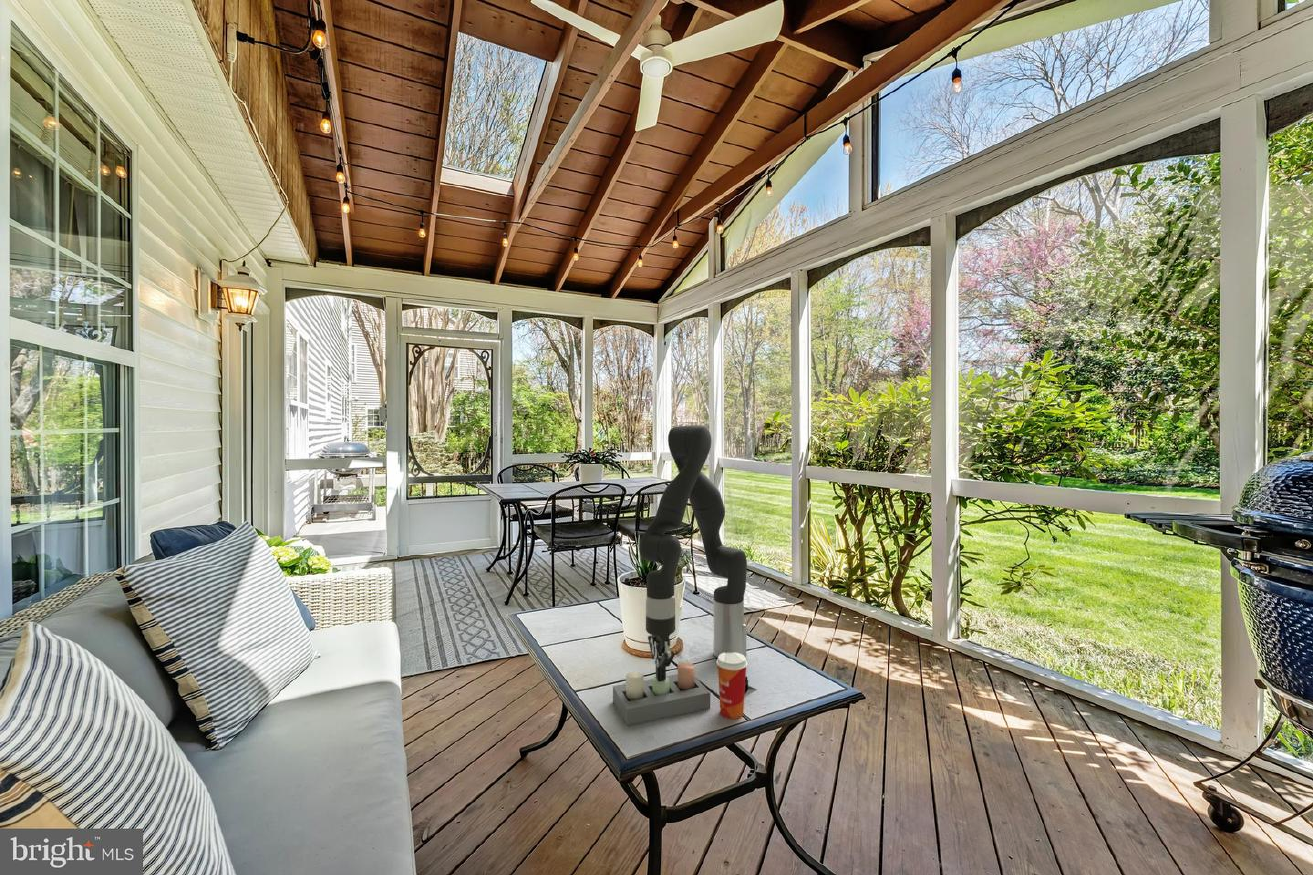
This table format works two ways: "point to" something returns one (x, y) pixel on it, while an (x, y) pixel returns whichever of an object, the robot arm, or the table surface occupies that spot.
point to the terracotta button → (686, 676)
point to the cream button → (634, 685)
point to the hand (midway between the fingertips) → (660, 679)
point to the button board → (660, 702)
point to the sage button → (660, 686)
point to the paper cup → (731, 683)
